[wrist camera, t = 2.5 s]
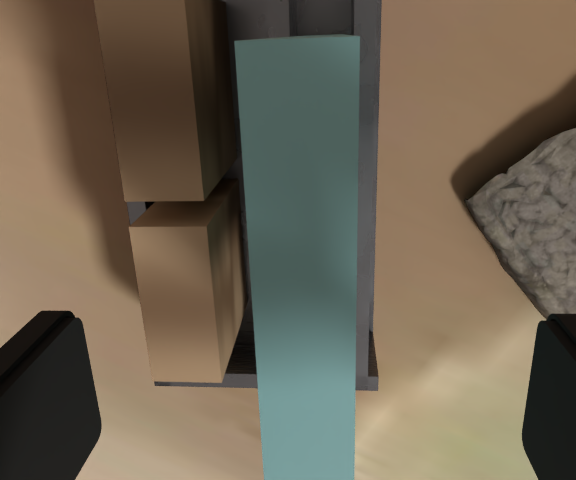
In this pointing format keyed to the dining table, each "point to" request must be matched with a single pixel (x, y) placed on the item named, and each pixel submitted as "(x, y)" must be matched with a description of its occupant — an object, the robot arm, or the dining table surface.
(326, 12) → the metal rack
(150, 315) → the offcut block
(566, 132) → the stone slab
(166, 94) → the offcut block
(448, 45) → the dining table surface
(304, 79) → the teal board
